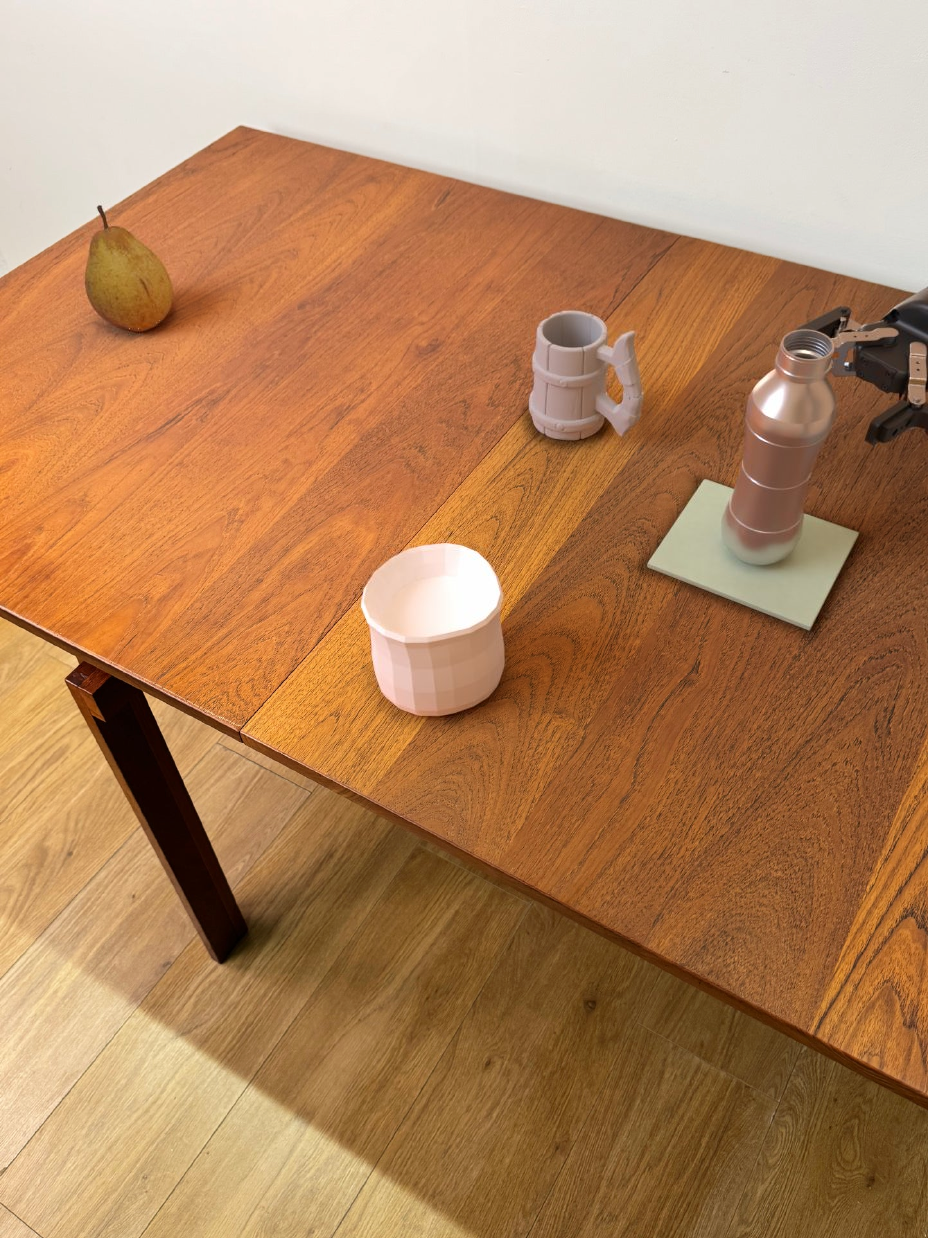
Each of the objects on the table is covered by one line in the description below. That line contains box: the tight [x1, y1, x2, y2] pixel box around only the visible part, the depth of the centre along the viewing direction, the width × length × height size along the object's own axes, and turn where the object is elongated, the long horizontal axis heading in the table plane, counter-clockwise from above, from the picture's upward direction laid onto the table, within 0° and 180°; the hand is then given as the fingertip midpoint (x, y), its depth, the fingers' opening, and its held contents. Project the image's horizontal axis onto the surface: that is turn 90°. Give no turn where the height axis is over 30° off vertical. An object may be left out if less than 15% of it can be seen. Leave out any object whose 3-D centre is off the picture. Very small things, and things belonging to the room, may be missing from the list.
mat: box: [646, 478, 860, 631], centre depth 84 cm, size 14×12×1 cm
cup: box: [360, 542, 506, 717], centre depth 74 cm, size 10×10×10 cm
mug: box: [528, 310, 645, 441], centre depth 91 cm, size 8×12×12 cm, turn 49°
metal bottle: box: [721, 329, 838, 565], centre depth 76 cm, size 6×7×20 cm
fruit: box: [84, 204, 174, 333], centre depth 107 cm, size 9×9×12 cm
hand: (824, 406), depth 76 cm, fingers open, 8 cm apart
